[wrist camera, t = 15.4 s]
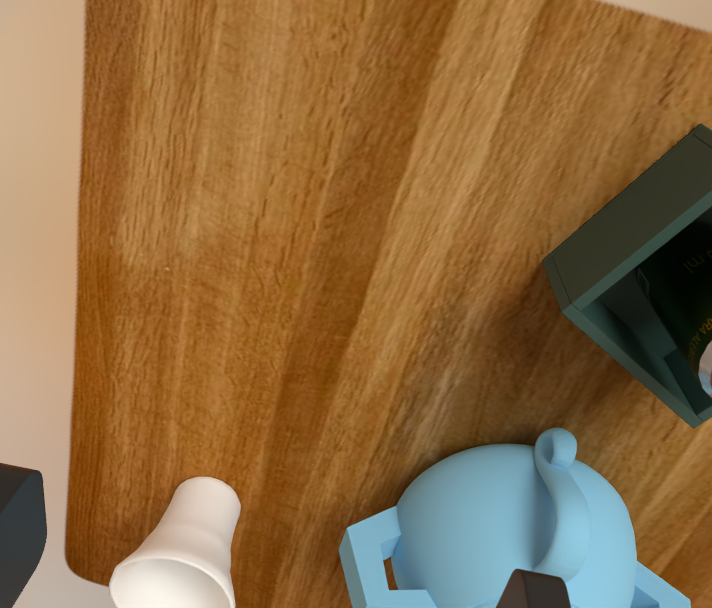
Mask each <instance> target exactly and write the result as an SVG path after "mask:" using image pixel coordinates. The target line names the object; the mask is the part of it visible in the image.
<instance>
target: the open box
mask: <svg viewBox="0 0 712 608" xmlns="http://www.w3.org/2000/svg"><path fill="white" fill-rule="evenodd" d="M690 223H700V224H706V225H710V226H712V130H710V129H709V128H707V127H706V126H704V125H703V124H699V125H698V126H697V127H696V128H695V129H693V130H692V131H691V132H690V133H689V134H688V135H687V136H685V137H684V138H683V139H682V140H681V141H680V142H678V143H677V144H676V145H675V146H674V147H673V148H672V149H670V150H669V151H668V152H667V153H666V154H665V155H663V156H662V157H661V158H660V159H659V160H658V161H657V162H655V163H654V164H653V165H652V166H651V167H650V168H649V169H647V170H646V171H645V172H644V173H643V174H642V175H640V176H639V177H638V178H637V179H636V180H635V181H634V182H632V183H631V184H630V185H629V186H628V187H627V188H625V189H624V190H623V191H622V192H621V193H620V194H619V195H617V196H616V197H615V198H614V199H613V200H612V201H610V202H609V203H608V204H607V205H606V206H605V207H604V208H602V209H601V210H600V211H599V212H598V213H597V214H595V215H594V216H593V217H592V218H591V219H590V220H589V221H587V222H586V223H585V224H584V225H583V226H582V227H580V228H579V229H578V230H577V231H576V232H575V233H574V234H572V235H571V236H570V237H569V238H568V239H567V240H565V241H564V242H563V243H562V244H561V245H560V246H559V247H557V248H556V249H555V250H554V251H553V252H552V253H550V254H549V255H548V256H547V257H546V258H545V259H544V260H542V262H543V265H544V267H545V270H546V273H547V276H548V278H549V281H550V284H551V286H552V289H553V292H554V294H555V297H556V300H557V302H558V305H559V308H560V310H561V313H562V314H563V315H564V316H566V317H567V318H568V319H569V320H570V321H571V322H572V323H574V324H575V325H576V326H577V327H578V328H579V329H580V330H582V331H583V332H584V333H585V334H586V335H587V336H588V337H590V338H591V339H592V340H593V341H594V342H595V343H596V344H597V345H599V346H600V347H601V348H602V349H603V350H604V351H605V352H607V353H608V354H609V355H610V356H611V357H612V358H613V359H615V360H616V361H617V362H618V363H619V364H620V365H621V366H623V367H624V368H625V369H626V370H627V371H628V372H629V373H631V374H632V375H633V376H634V377H635V378H636V379H637V380H638V381H640V382H641V383H642V384H643V385H644V386H645V387H646V388H648V389H649V390H650V391H651V392H652V393H653V394H654V395H656V396H657V397H658V398H659V399H660V400H661V401H662V402H664V403H665V404H666V405H667V406H668V407H669V408H670V409H671V410H673V411H674V412H675V413H676V414H677V415H678V416H679V417H681V418H682V419H683V420H684V421H685V422H686V423H687V424H689V425H690V426H691V427H692V428H696V427H697V426H699V425H700V424H702V423H703V421H706V420H708V419H709V418H711V417H712V398H711V397H710V396H709V395H708V394H707V393H706V391H705V390H704V389H703V388H702V386H701V385H700V383H699V382H698V380H697V378H696V377H695V375H694V374H693V372H692V370H691V369H690V367H689V365H688V364H687V362H686V361H685V359H684V357H683V356H682V354H681V353H680V351H679V349H678V348H677V346H676V345H675V343H674V341H673V340H672V338H671V337H670V335H669V333H668V332H667V330H666V329H665V327H664V325H663V324H662V322H661V321H660V319H659V317H658V316H657V314H656V312H655V311H654V309H653V308H652V306H651V304H650V303H649V301H648V300H647V298H646V296H645V295H644V293H643V292H642V290H641V288H640V287H639V284H638V281H637V278H636V266H637V265H639V264H640V263H641V262H643V261H644V260H645V259H646V258H648V257H649V256H650V255H651V254H653V253H654V252H655V251H656V250H658V249H659V248H660V247H661V246H663V245H664V244H665V243H666V242H668V241H669V240H670V239H671V238H673V237H674V236H675V235H676V234H678V233H679V232H680V231H681V230H683V229H684V228H685V227H686V226H688V225H689V224H690Z"/></svg>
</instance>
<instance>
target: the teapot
mask: <svg viewBox="0 0 712 608" xmlns="http://www.w3.org/2000/svg"><path fill="white" fill-rule="evenodd" d="M576 451H577V442H576V438H575V437H574V436H573V435H572V434H571V433H570V432H568V431H567V430H565V429H563V428H558V427H557V428H551V429H548V430H546V431H544V432H543V433H542V434H541V435H540V436H539V438H538V439H537V442H536V444H535V446H530V445H524V444H509V443H505V444H490V445H483V446H478V447H474V448H470V449H466V450H464V451H461V452H458V453H455V454H453V455H451V456H449V457H447V458H445V459H443V460H441V461H439V462H437V463H436V464H434V465H433V466H431V467H430V468H428V469H427V470H425V471H424V472H423V473H421V474H420V475H419V476H418V477H417V478H416V479H414V481H413V482H412V483H411V484H410V485H409V486H408V487H407V488H406V490H405V491H404V493H403V495H402V496H401V498H400V499H399V501H398V503H397V505H396V506H394V507H392V508H390V509H387V510H385V511H383V512H381V513H378V514H376V515H374V516H372V517H369V518H367V519H365V520H363V521H361V522H358V523H356V524H354V525H352V526H349V527H347V529H346V532H345V534H344V537H343V540H342V542H341V545H340V548H339V554H340V558H341V562H342V566H343V571H344V575H345V579H346V583H347V587H348V592H349V596H350V600H351V604H352V608H496V606H497V604H498V602H499V600H500V598H501V595H502V593H503V591H504V589H505V587H506V585H507V582H508V580H509V578H510V576H511V574H512V572H513V571H514V570H515V569H523V570H528V571H533V572H538V573H543V574H548V575H553V576H558V577H561V578H562V579H563V580H564V582H565V584H566V587H567V591H568V595H569V600H570V604H571V608H691V604H690V599H688V598H687V597H686V596H684V595H683V594H682V593H680V592H679V591H677V590H676V589H675V588H673V587H672V586H671V585H669V584H668V583H667V582H665V581H664V580H662V579H661V578H660V577H658V576H657V575H656V574H654V573H653V572H652V571H650V570H649V569H648V568H646V567H645V566H643V565H642V564H641V563H639V562H638V561H637V554H636V544H635V536H634V530H633V526H632V523H631V520H630V516H629V513H628V510H627V507H626V505H625V504H624V502H623V500H622V498H621V496H620V495H619V494H618V493H617V491H616V490H615V489H614V487H613V486H612V485H611V484H610V483H609V482H608V481H607V480H605V479H604V478H603V477H602V476H601V475H600V474H599V473H598V472H596V471H595V470H593V469H592V468H591V467H589V466H588V465H586V464H584V463H582V462H580V461H578V460H576V459H575V456H576ZM389 557H391V562H392V568H393V573H394V577H395V581H396V585H397V587H398V590H389V589H388V584H387V579H386V574H385V568H384V563H383V560H385V559H387V558H389Z"/></svg>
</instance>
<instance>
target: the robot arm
mask: <svg viewBox="0 0 712 608" xmlns="http://www.w3.org/2000/svg"><path fill="white" fill-rule="evenodd" d="M46 538H47V525H46V513H45V502H44V489H43V478H42V474H41V473H40V471H38V470H33V469H28V468H23V467H18V466H13V465H8V464H3V463H0V608H12V607H13V605H14V604H15V602H16V600H17V599H18V597H19V595H20V594H21V592H22V591H23V589H24V587H25V586H26V584H27V582H28V581H29V579H30V578H31V576H32V574H33V573H34V571H35V569H36V567H37V565H38V563H39V561H40V559H41V556H42V554H43V551H44V547H45V543H46ZM496 608H571V604H570V600H569V595H568V591H567V587H566V584H565V582H564V580H563V579H562V578H561V577H558V576H553V575H548V574H543V573H538V572H533V571H528V570H523V569H515V570H514V571H513V572H512V574H511V576H510V578H509V580H508V582H507V585H506V587H505V589H504V591H503V593H502V595H501V598H500V600H499V602H498V604H497V606H496Z"/></svg>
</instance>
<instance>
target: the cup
mask: <svg viewBox="0 0 712 608" xmlns="http://www.w3.org/2000/svg"><path fill="white" fill-rule="evenodd" d="M240 511H241V504H240V502H239V499H238V497H237V494H236V492H235V491H234V490H233V489H232V488H231V487H230V486H229V485H227V484H226V483H224V482H223V481H221V480H218V479H215V478H212V477H200V476H198V477H194V478H191V479H188V480H186V481H184V482H183V483H181V484H180V485H179V486H178V488H177V489H176V491H175V493H174V495H173V498H172V500H171V502H170V504H169V506H168V508H167V510H166V512H165V513H164V515H163V517H162V519H161V520H160V522H159V523H158V525H157V527H156V528H155V529H154V531H153V532H152V533H151V534H150V535H149V536H148V537H147V538H146V539H145V540H144V542H143V543H142V544H141V545H140V547H139V548H138V549H137V550H136V551H135V552H134V553H132V554H131V555H130V556H128V557H127V558H126V559H125V560H123V561H122V562H121V563H119V564H118V565H117V566H116V567H115V570H114V572H113V575H112V577H111V580H110V582H109V591H110V595H111V598H112V600H113V602H114V604H115V606H116V608H235V598H234V591H233V586H232V581H231V575H230V567H231V554H230V548H231V542H232V538H233V534H234V530H235V527H236V523H237V520H238V518H239V516H240Z"/></svg>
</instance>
